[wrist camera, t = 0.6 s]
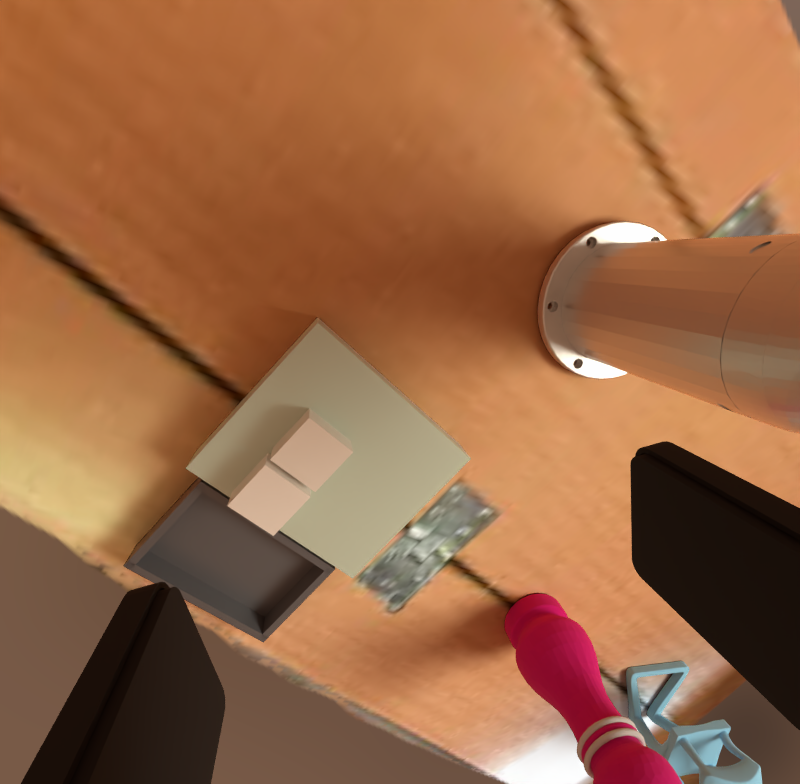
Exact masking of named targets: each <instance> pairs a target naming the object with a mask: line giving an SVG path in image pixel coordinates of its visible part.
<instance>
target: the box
mask: <svg viewBox="0 0 800 784" xmlns="http://www.w3.org/2000/svg"><path fill="white" fill-rule="evenodd" d="M229 499H230V497H228V496H227V495H225V494H224V493H222V492H221V491H219V490H218V489H216V488H215V487H213V486H212V485H210V484H208V483H207V482H205V481H204V480H202V479H201V478H199V477H198V478H197V480H196V481H195V482H194V483H193V484H192V485H191V486H190V487H189V488H188V489H187V490H186V492H185V493H184V494H183V495H182V496H181V497H180V498H179V499H178V500H177V501H176V502H175V504H174V505H173V506H172V507H171V508H170V509H169V510H168V511H167V512H166V513H165V515H164V516H163V517H162V518H161V519H160V520H159V521H158V522H157V523H156V524H155V525H154V527H153V528H152V529H151V530H150V531H149V532H148V533H147V534H146V535H145V536H144V537H143V539H142V540H141V541H140V542H139V543H138V544H137V545H136V547H135V548H134V550H133V551H132V553H131V555H130V556H129V558H128V559H127V561H126V563H125V564H124V567H126V568H127V569H129V570H131V571H133V572H135V573H137V574H139V575H140V576H142V577H144V578H146V579H148V580H150V581H151V582H153V583H159V582H165V583H166V584H168V586H169V587H170V588H171V587H177V588H178V589H179V590H180V592H181V594H182V596H183V599H185V600H186V601H188V602H190V603H192V604H194V605H196V606H197V607H199V608H201V609H203V610H205V611H207V612H208V613H210V614H212V615H214V616H216V617H218V618H220V619H221V620H223V621H225V622H227V623H229V624H231V625H232V626H234V627H236V628H238V629H240V630H242V631H243V632H245V633H247V634H249V635H251V636H253V637H255V638H256V639H258V640H260V641H262V642H264V641H265V640H266V639H267V638H268V637H269V636H270V635H271V634H272V633H273V632H274V631H275V630H276V629H277V628H278V627H279V626H280V625H281V624H282V623H283V622H284V621H285V620H286V619H287V618H288V617H289V616H290V615H291V614H292V613H293V612H294V611H295V610H296V609H297V608H298V607H299V606H300V605H301V604H302V603H303V601H304V600H305V599H306V598H307V597H308V596H309V595H310V594H311V593H312V592H313V591H314V590H315V589H316V588H317V587H318V586H319V585H320V584H321V583H322V582H323V581H324V580H325V579H326V578H327V577H328V576H329V575H330V574H331V573H332V572H333V571H334V570H335V566H333V565H332V564H330V563H328V562H327V561H325V560H324V559H322V558H321V557H319V556H318V555H316V554H315V553H313V552H312V551H310V550H309V549H307V548H306V547H304V546H303V545H301V544H300V543H298V542H297V541H295V540H294V539H292V538H291V537H289V536H287V535H286V534H284V533H283V532H281V531H280V530H279V531H278V532H277V533H276V534H275V535H274V536H273V535H271V534H270V533H268V532H267V531H265V530H263V529H262V528H260V527H259V526H257V525H256V524H254V523H253V522H251V521H250V520H248V519H247V518H245V517H243V516H242V515H240V514H239V513H237V512H236V511H234V510H233V509H231V508H230V507H228V506H227V505H228V502H229Z"/></svg>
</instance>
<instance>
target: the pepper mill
mask: <svg viewBox="0 0 800 784" xmlns="http://www.w3.org/2000/svg"><path fill="white" fill-rule="evenodd" d="M505 631H506V634H507V636H508V638H509V639H510V641H511V643H512V645H513V647H514V648H515V649H516V662H517V665H518V668H519V670H520V672H521V674H522V675H523V677H524V679H525V680H526V682H527V683H528V684H529V685H530V686H531V687H532V689H533V690H534V691H535V692H536V693H537V694H538V695H540V696H541V697H542V698H543V699H544V700H546V701H547V702H548V703H550V704H551V705H552V706H553V707H554V708H555V709H557V710H558V711H559V712H560V714H561V715H562V716H563V717H564V718H565V720H566V721H567V723H568V725H569V726H570V728H571V730H572V731H573V733H574V735H575V738H576V740H577V742H578V745H577V754H578V757H579V759H580V760H581V762H582V763H583V764H584V768H585V770H586V772H587V774H588V775H589V776H590V777H592V778H594V780H593V784H682V782H681V780H680V778H679V777H678V775H677V773H676V772H675V770H674V768H673V767H672V766H671V765H670V763H669V762H668V761H667V760H666V759H665V758H664V757H663V756H662V755H660V754H659V753H657V752H656V751H654V750H653V749H651V748H648V747H646V744H645V740H644V737H643V736H642V735H641V733H639V732H638V731H637V729H636V726H635V724H634V723H633V722H632V721H631V720H630V719H628V718H626V717H622V716H621V715H620V713H619V712H618V711H617V710H616V708H615V707H614V705H613V704H612V702H611V701H610V699H609V697H608V696H607V694H606V691H605V689H604V686H603V683H602V679H601V675H600V671H599V666H598V661H597V657H596V653H595V651H594V648H593V645H592V643H591V640H590V639H589V637H588V635H587V634H586V632H585V630H584V629H583V628H582V627H581V626H580V625H579V624H578V623H577V622H575V621H573V620H571V619H569V618H568V617H567V614H566V613H565V611H564V610H563V608H562V607H561V605H560V604H559V603H558V601H557V600H556V599H555V598H553V597H552V596H549V595H547V594H532V595H529V596H526V597H524V598H522V599H520V600H519V601H517V602H516V603H515V604H514V605H513V606H512V607H511V608H510V610H509V612H508V613H507V615H506V619H505Z"/></svg>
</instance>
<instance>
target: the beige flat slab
mask: <svg viewBox="0 0 800 784" xmlns="http://www.w3.org/2000/svg"><path fill="white" fill-rule="evenodd" d="M309 408H310V409H311V410H313V411H314V412H315V413H316V414H318V415H319V416H320V417H321V418H323V419H324V420H325V421H326V422H328V423H329V424H330V425H331V426H333V427H334V428H335V429H336V430H338V431H339V432H340V433H341V434H343V435H344V436H345V437H346V438H348V439H349V440H350V441H351V444H352V449H353V453H352V454H351V455H350V456H349V457H348V458H347V459H346V460H345V461H344V462H343V464H342V465H341V466H340V467H339V468H338V469H337V470H336V471H335V472H334V473H333V474H332V475H331V476H330V477H329V478H328V479H327V480H326V481H325V482H324V483H323V485H322V486H321V487H320V488H319V489H318V490H317V491H316V492H314V491H313V490H311V497H310V498H309V499H308V500H307V501H306V502H305V503H304V504H303V506H302V507H301V508H300V509H299V510H298V511H297V512H296V513H295V514H294V515H293V516H292V517H291V518H290V519H289V520H288V521H287V522H286V523H285V524H284V525H283V527H282V528H281V529H280V531H281V532H283V533H284V534H286V535H287V536H289V537H291V538H292V539H294V540H295V541H297V542H298V543H300V544H301V545H303V546H304V547H306V548H307V549H309V550H310V551H312V552H313V553H315V554H316V555H318V556H319V557H321V558H322V559H324V560H325V561H327V562H328V563H330V564H332V565H333V566H335V567H336V568H338V569H339V570H341V571H342V572H344V573H345V574H347V575H348V576H350V577H351V578H354V577H355V576H356V575H357V574H358V573H359V572H360V571H361V570H362V569H363V568H364V567H365V566H366V565H367V564H368V563H369V562H370V561H371V560H372V559H373V558H374V557H375V555H376V554H377V553H378V552H379V551H380V550H381V549H382V548H383V547H384V546H385V545H386V544H387V543H388V542H389V541H390V540H391V539H392V538H393V537H394V536H395V535H396V534H397V533H398V532H399V531H400V530H401V529H402V528H403V527H404V526H405V525H406V524H407V523H408V522H409V521H410V520H411V519H412V518H413V517H414V516H415V515H416V514H417V513H418V512H419V511H420V510H421V509H422V508H423V507H424V506H425V505H426V504H427V503H428V502H429V501H430V500H431V499H432V498H433V497H434V496H435V495H436V494H437V493H438V492H439V491H440V490H441V489H442V488H443V487H444V486H445V485H446V484H447V483H448V482H449V481H450V480H451V479H452V478H453V477H454V476H455V475H456V474H457V473H458V472H459V470H460V469H461V468H462V467H463V466H464V465H465V464H466V463H467V462H468V461H469V460H470V459H471V458H470V457H469V455H468V454H467V453H466V452H465V450H464V449H463V448H462V446H461V445H460V444H459V443H458V442H457V441H456V440H455V439H454V438H452V437H451V436H450V435H449V434H448V433H447V432H446V431H445V430H443V429H442V428H441V427H440V426H439V425H438V424H437V423H436V422H434V421H433V420H432V419H431V418H430V417H429V416H428V415H427V414H426V413H424V412H423V411H422V410H421V409H420V408H419V407H418V406H417V405H415V404H414V403H413V402H412V401H411V400H410V399H409V398H408V397H407V396H405V395H404V394H403V393H402V392H401V391H400V390H399V389H398V388H396V387H395V386H394V385H393V384H392V383H391V382H390V381H389V380H387V379H386V378H385V377H384V376H383V375H382V374H381V373H380V372H379V371H377V370H376V369H375V368H374V367H373V366H372V365H371V364H370V363H368V362H367V361H366V360H365V359H364V358H363V357H362V356H361V355H360V354H358V353H357V352H356V351H355V350H354V349H353V348H352V347H351V346H349V345H348V344H347V343H346V342H345V341H344V340H343V339H342V338H340V337H339V336H338V335H337V334H336V333H335V332H334V331H333V330H332V329H330V328H329V327H328V326H327V325H326V324H325V323H324V322H323V321H321V320H320V319H319V318H318V317H317V318H316V319H315V321H314V322H313V323H312V324H311V325H310V326H309V327H308V328H307V329H306V330H305V332H304V333H303V334H302V335H301V336H300V337H299V338H298V339H297V340H296V341H295V343H294V344H293V345H292V346H291V347H290V348H289V349H288V350H287V351H286V352H285V354H284V355H283V356H282V357H281V358H280V359H279V360H278V361H277V362H276V363H275V365H274V366H273V367H272V368H271V369H270V370H269V371H268V372H267V373H266V375H265V376H264V377H263V378H262V379H261V380H260V381H259V382H258V383H257V384H256V386H255V387H254V388H253V389H252V390H251V391H250V392H249V393H248V394H247V395H246V397H245V398H244V399H243V400H242V401H241V402H240V403H239V404H238V405H237V406H236V408H235V409H234V410H233V411H232V412H231V413H230V414H229V415H228V416H227V417H226V419H225V420H224V421H223V422H222V423H221V424H220V425H219V426H218V427H217V428H216V430H215V431H214V432H213V433H212V434H211V435H210V436H209V437H208V438H207V440H206V441H205V442H204V443H203V444H202V445H201V446H200V447H199V448H198V449H197V451H196V452H195V454H194V455H193V457H192V459H191V460H190V462H189V463H188V465H187V467H186V469H187V470H189V471H190V472H192V473H193V474H195V475H196V476H198V477H199V478H201V479H202V480H204V481H205V482H207V483H208V484H210V485H212V486H213V487H215V488H216V489H218V490H219V491H221V492H222V493H224V494H225V495H227V496H228V497H230V496H231V494H232V491H233V490H234V489H235V488H236V487H237V486H238V485H239V484H240V483H241V481H242V480H243V479H244V478H245V477H246V476H247V475H248V474H249V473H250V472H251V471H252V470H253V469H254V467H255V466H256V465H257V464H258V463H259V462H260V461H261V460H262V459H263V458H264V457H265V456H266V455H267V453H269V454H271V453H272V449H273V447H274V446H275V445H276V444H277V443H278V442H279V441H280V439H281V438H282V437H283V436H284V435H285V434H286V433H287V432H288V431H289V430H290V429H291V428H292V427H293V425H294V424H295V423H296V422H297V421H298V420H299V419H300V418H301V417H302V416H303V415H304V414H305V413H306V411H307V410H308V409H309Z"/></svg>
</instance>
